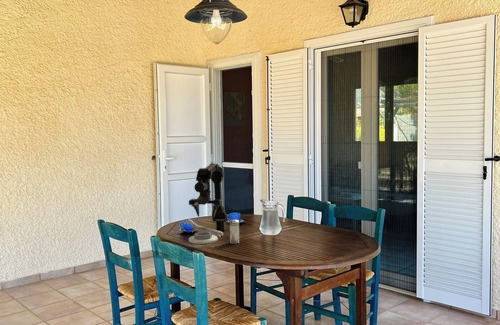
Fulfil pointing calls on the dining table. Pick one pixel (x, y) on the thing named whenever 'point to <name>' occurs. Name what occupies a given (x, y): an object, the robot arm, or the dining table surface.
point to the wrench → (203, 228)
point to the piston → (234, 231)
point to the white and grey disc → (203, 238)
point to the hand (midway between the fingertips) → (206, 216)
